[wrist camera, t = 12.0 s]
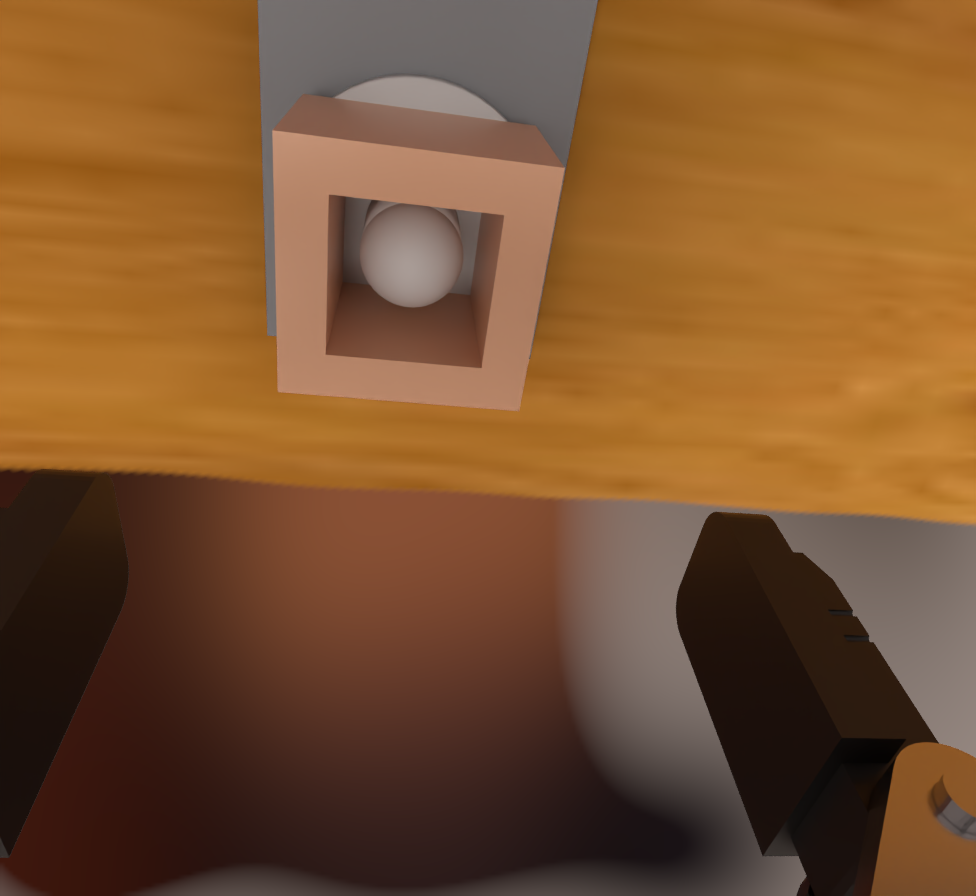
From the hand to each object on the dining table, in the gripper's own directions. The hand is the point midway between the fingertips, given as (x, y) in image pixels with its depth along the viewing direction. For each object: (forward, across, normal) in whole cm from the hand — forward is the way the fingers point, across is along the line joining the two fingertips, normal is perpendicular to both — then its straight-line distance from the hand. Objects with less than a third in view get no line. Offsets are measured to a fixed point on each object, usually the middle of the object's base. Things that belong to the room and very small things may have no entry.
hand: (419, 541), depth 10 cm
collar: (+14, 0, 0) cm, 14 cm away
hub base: (+17, 0, -4) cm, 17 cm away
